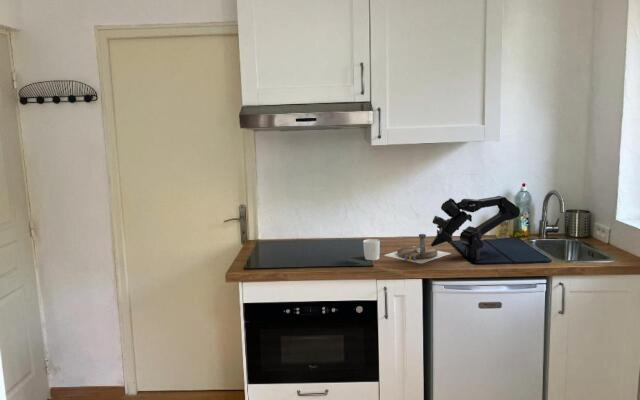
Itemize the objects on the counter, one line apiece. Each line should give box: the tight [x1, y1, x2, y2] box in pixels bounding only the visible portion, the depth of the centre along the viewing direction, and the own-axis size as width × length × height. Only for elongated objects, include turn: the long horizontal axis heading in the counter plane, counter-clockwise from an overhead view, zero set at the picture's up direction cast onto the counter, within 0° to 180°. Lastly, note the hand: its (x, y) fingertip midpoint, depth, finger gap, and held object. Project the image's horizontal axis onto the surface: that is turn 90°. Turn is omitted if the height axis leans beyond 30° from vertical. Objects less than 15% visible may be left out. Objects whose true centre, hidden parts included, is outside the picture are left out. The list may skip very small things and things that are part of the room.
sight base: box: [383, 245, 452, 265], centre depth 243 cm, size 23×23×4 cm
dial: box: [397, 233, 438, 259], centre depth 243 cm, size 19×19×11 cm
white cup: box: [362, 238, 381, 261], centre depth 240 cm, size 8×8×10 cm
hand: (431, 245), depth 234 cm, fingers closed
